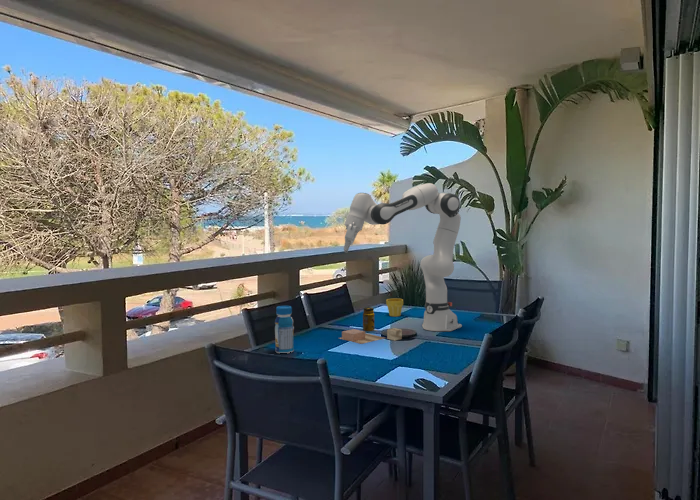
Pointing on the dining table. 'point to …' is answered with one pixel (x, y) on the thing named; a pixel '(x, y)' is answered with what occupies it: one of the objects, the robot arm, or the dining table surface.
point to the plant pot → (394, 306)
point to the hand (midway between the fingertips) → (345, 251)
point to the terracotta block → (353, 335)
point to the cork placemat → (367, 339)
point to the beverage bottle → (284, 330)
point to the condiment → (368, 319)
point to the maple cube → (394, 334)
